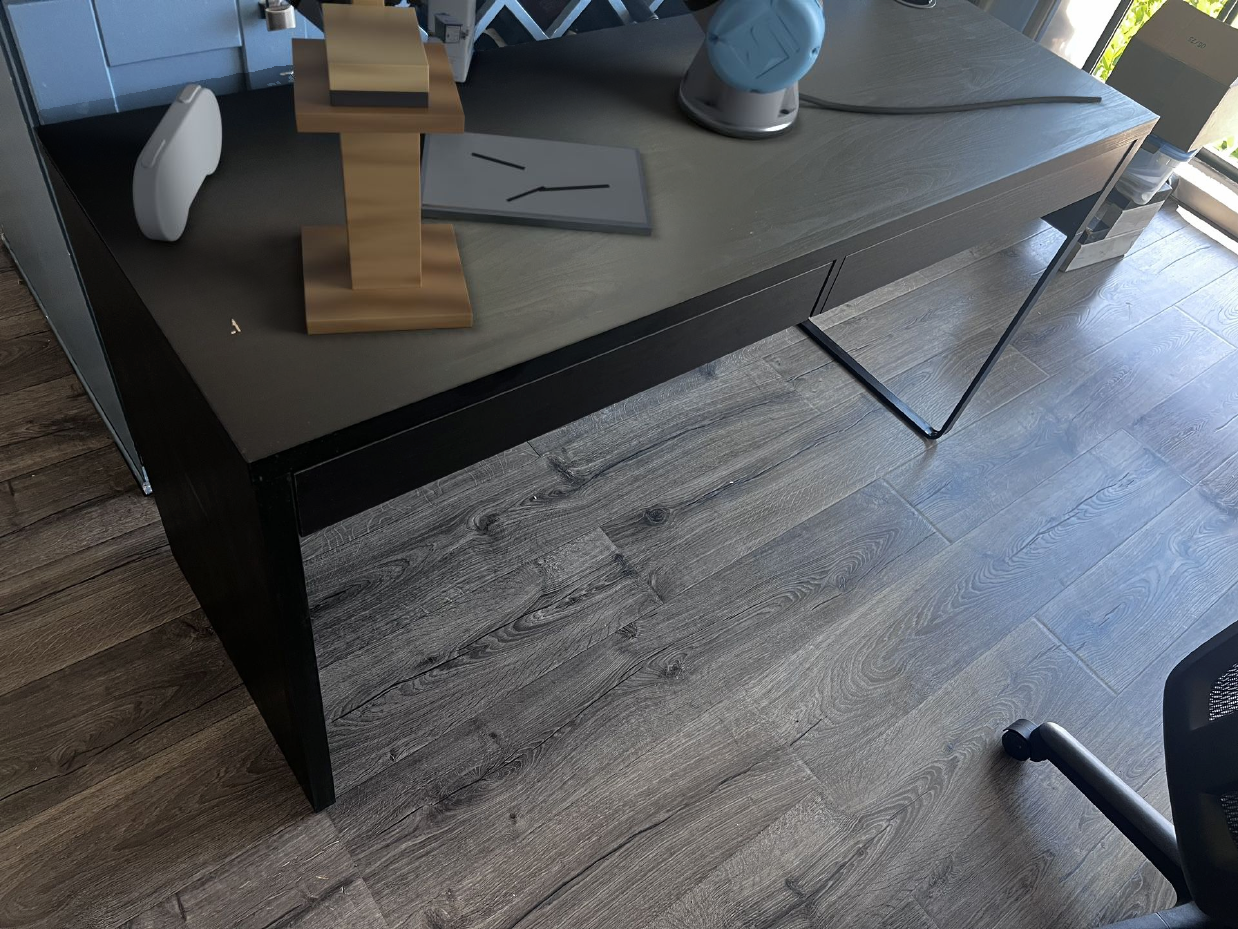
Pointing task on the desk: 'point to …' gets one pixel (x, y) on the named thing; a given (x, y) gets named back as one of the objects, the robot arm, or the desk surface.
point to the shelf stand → (379, 210)
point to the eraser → (375, 55)
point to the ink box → (453, 31)
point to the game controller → (177, 163)
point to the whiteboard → (534, 183)
